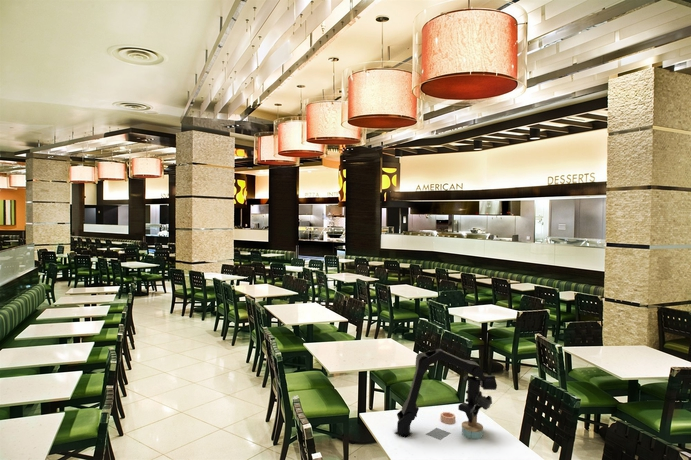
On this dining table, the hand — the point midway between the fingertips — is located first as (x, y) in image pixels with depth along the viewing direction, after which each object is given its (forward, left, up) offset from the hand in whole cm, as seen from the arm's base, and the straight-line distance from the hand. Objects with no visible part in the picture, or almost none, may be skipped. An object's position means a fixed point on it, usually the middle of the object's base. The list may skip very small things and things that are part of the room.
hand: (472, 421), depth 222 cm
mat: (-11, +12, -7) cm, 18 cm away
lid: (0, 0, -3) cm, 3 cm away
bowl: (0, 0, -7) cm, 7 cm away
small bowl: (+5, +16, -7) cm, 18 cm away
